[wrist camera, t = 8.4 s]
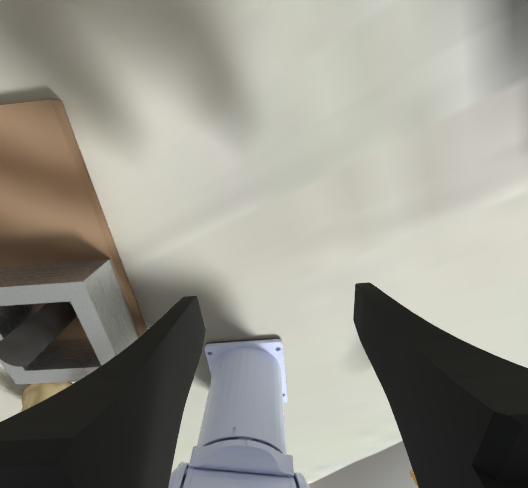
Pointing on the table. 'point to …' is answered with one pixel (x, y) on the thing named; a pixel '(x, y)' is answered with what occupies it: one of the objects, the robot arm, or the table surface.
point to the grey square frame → (85, 305)
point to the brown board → (49, 218)
